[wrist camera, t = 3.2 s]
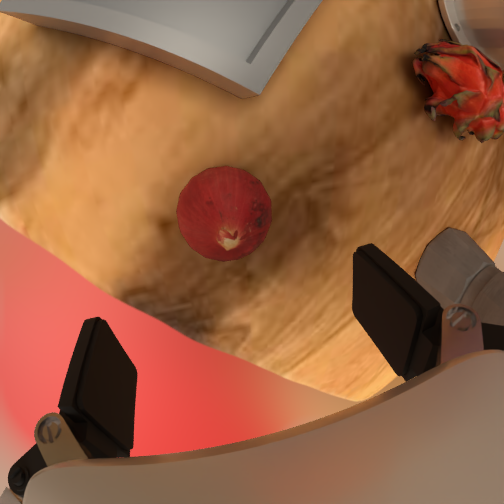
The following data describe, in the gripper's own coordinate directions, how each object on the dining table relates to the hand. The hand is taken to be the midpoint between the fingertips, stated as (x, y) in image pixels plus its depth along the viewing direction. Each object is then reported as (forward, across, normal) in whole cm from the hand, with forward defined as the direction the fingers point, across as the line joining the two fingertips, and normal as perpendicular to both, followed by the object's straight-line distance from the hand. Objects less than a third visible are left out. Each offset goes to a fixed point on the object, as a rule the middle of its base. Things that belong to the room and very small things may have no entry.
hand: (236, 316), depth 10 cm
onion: (+13, -1, 0) cm, 13 cm away
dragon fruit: (+12, -22, -7) cm, 27 cm away
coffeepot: (+13, -23, +13) cm, 30 cm away
